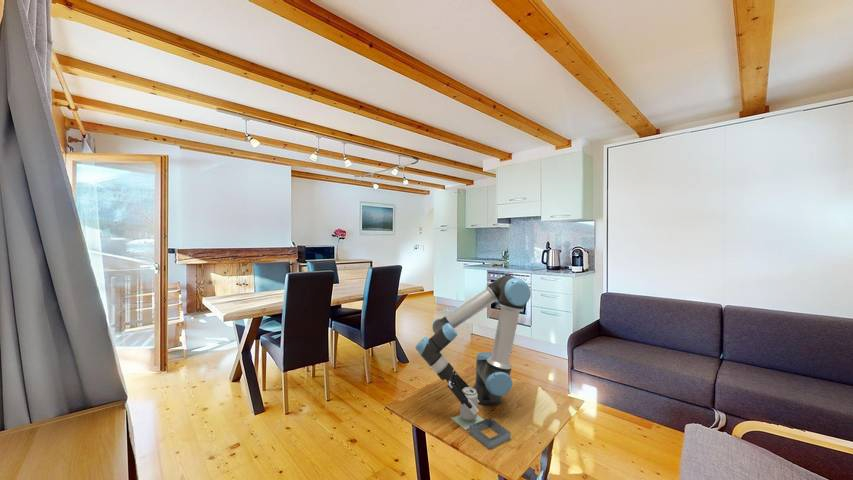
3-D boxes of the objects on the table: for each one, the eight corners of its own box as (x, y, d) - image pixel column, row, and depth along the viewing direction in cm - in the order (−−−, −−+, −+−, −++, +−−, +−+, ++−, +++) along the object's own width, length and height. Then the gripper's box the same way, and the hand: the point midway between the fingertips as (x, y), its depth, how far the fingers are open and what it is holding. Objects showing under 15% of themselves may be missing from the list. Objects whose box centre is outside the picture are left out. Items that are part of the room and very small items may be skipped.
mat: (471, 411, 150) (471, 410, 150) (485, 421, 142) (485, 420, 142) (451, 419, 143) (451, 418, 143) (465, 430, 135) (465, 429, 135)
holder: (489, 424, 140) (489, 417, 140) (510, 439, 130) (510, 432, 130) (468, 433, 133) (469, 425, 133) (489, 449, 123) (489, 442, 123)
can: (479, 420, 140) (480, 393, 140) (464, 422, 138) (465, 394, 137) (472, 410, 147) (473, 385, 147) (457, 412, 145) (458, 386, 145)
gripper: (439, 364, 155) (471, 401, 152) (432, 382, 135) (469, 426, 132) (450, 354, 154) (483, 391, 151) (445, 371, 134) (482, 415, 131)
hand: (476, 407), depth 141 cm, fingers closed on can, 7 cm apart
